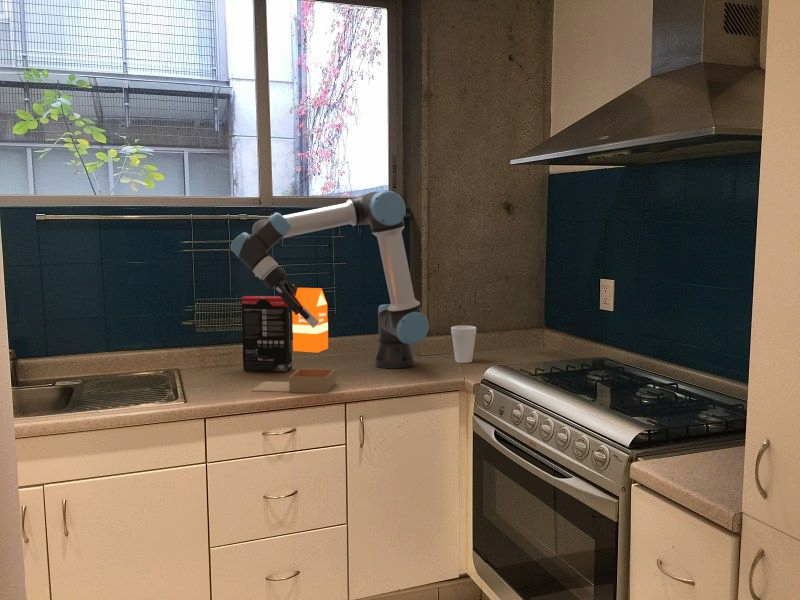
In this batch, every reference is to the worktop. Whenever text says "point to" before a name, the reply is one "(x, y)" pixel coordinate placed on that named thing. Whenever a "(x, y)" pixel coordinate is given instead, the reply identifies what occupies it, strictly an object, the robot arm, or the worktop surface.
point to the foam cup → (463, 342)
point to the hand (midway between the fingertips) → (320, 322)
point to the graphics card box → (266, 334)
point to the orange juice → (302, 331)
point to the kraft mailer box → (303, 382)
